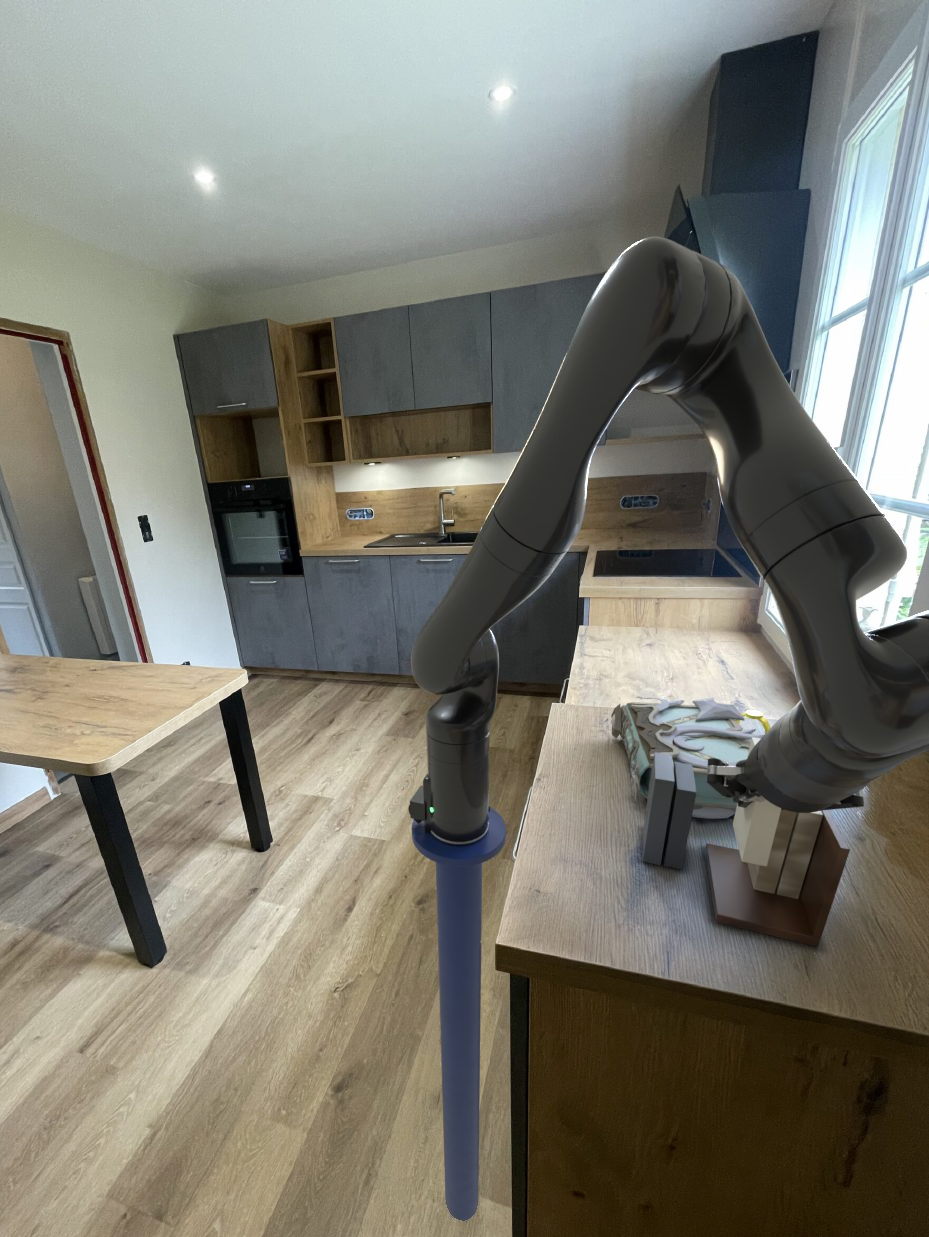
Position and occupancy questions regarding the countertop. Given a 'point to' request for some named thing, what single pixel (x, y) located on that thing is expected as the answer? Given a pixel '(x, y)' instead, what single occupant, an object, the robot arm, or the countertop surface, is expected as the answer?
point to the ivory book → (756, 827)
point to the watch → (759, 716)
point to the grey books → (668, 811)
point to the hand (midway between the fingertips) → (756, 800)
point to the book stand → (782, 879)
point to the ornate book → (683, 744)
